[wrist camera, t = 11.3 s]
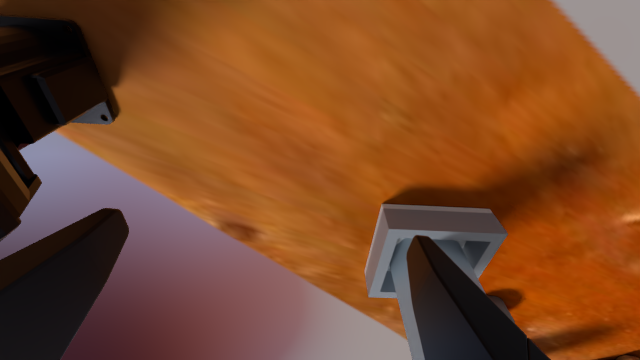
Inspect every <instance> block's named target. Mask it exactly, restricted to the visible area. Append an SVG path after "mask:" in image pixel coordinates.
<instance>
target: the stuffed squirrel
mask: <svg viewBox="0 0 640 360" xmlns="http://www.w3.org/2000/svg"><path fill="white" fill-rule="evenodd" d="M615 360H640V358H638V357H635V356H628V355H623V356H619V357H618V358H616V359H615Z"/></svg>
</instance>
